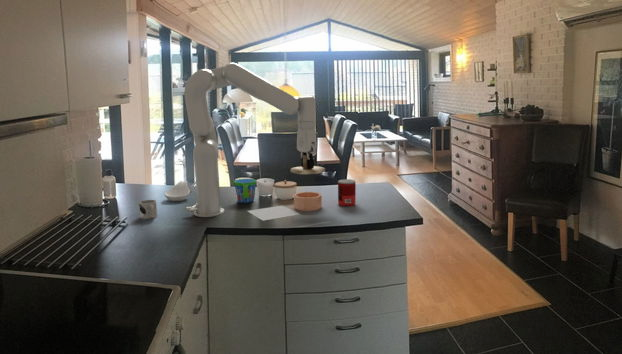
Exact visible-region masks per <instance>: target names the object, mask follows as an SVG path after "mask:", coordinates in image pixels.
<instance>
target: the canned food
mask: <svg viewBox="0 0 622 354" xmlns="http://www.w3.org/2000/svg"><path fill="white" fill-rule="evenodd" d="M356 194H357V193H356V180H355V179H351V178H349V179H347V178H345V179H339V180H338V181H337V202H338V206H341V207H353V206H355V205H356Z"/></svg>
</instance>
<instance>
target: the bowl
mask: <svg viewBox="0 0 622 354" xmlns="http://www.w3.org/2000/svg"><path fill="white" fill-rule="evenodd" d="M322 196H323V195H322V193H320V192H315V191H301V192H296V194H294V197H293V198H294V199H293V205H294V207H293V208H294V209H296V210H297V211H304V212H305V211H307V212H311V211H312V212H313V211H317V210H320V209H322V206H323V205H322V203H323V202H322V199H323V197H322Z"/></svg>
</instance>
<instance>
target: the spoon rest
mask: <svg viewBox="0 0 622 354" xmlns="http://www.w3.org/2000/svg"><path fill="white" fill-rule="evenodd" d="M191 193H192V187H191V184H190V182H189V181H188V180H185V181H183V180H180V181H179V182H177V183H176V184H175V185H173V186H172V187H171V188H169V189H168V190H167V191H165V193H164V197H165V198H166V199H167V200H169V201H170V202H182V201H185V200H186V199H187V198H188V197H189V196H190V194H191Z"/></svg>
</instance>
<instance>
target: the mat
mask: <svg viewBox="0 0 622 354" xmlns="http://www.w3.org/2000/svg"><path fill="white" fill-rule="evenodd" d="M247 212H248V213H250V215H253V216H254V217H256V218H257V219H259V220H260V221H262V222H263V221H264V222H265V221H270V220H277V219H282V218H287V217H293V216H299V215H301V214H300V213H298V212H296V211H295V210H292V209H290V208H289V207H286V206H285V205H277V206H270V207H263V208H256V209H251V210H247Z"/></svg>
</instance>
